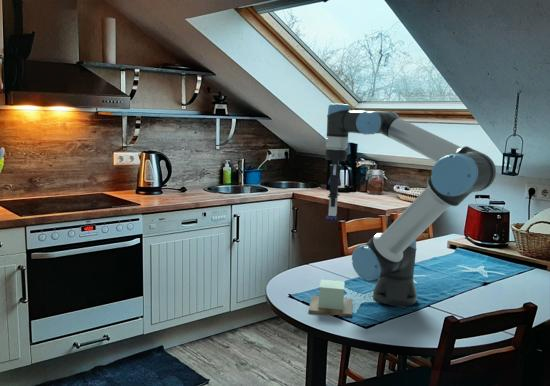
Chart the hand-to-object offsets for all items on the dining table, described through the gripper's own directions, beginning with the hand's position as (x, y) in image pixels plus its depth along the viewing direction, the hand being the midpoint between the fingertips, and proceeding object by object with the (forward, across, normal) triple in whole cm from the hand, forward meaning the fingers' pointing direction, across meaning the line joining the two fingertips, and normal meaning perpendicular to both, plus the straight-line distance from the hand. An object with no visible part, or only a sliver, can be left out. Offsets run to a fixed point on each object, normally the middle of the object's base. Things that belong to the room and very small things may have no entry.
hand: (332, 214), depth 194 cm
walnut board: (+29, +16, +2) cm, 33 cm away
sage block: (+28, +16, +2) cm, 32 cm away
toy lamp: (+2, 0, 0) cm, 2 cm away
